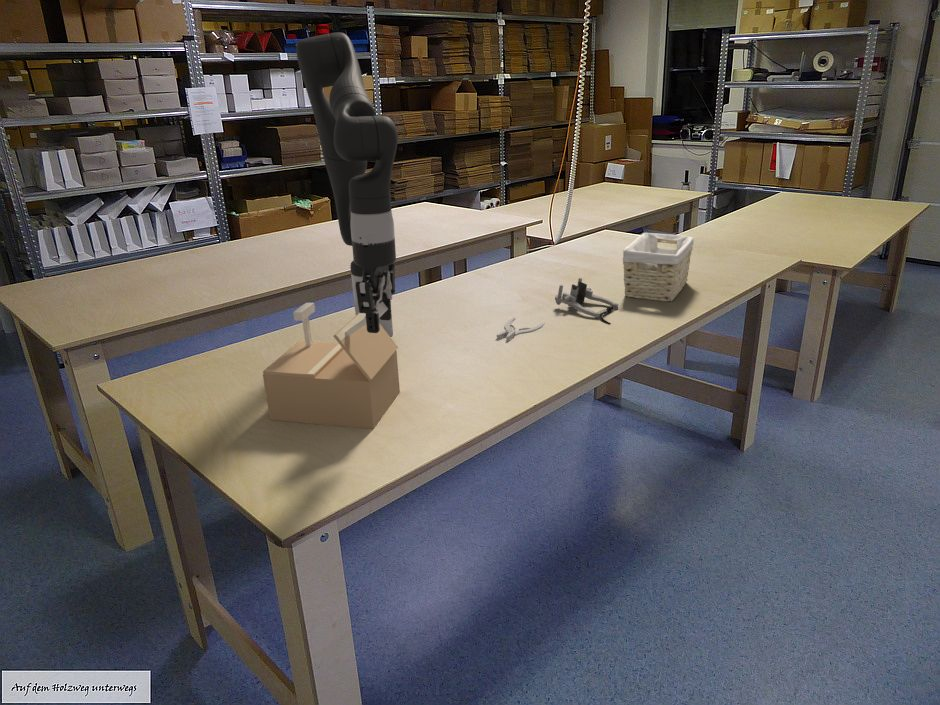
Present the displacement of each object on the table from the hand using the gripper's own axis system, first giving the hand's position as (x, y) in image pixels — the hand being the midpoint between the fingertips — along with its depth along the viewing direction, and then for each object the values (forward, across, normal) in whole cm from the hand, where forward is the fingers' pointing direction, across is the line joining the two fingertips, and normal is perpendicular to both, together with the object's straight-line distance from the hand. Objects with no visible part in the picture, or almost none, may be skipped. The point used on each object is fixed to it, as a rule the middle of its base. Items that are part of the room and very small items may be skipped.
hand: (379, 325), depth 123 cm
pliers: (+20, -52, +18) cm, 59 cm away
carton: (+20, -4, -12) cm, 24 cm away
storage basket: (+19, -92, +54) cm, 109 cm away
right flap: (+6, -4, -5) cm, 9 cm away
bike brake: (+20, -71, +36) cm, 82 cm away
